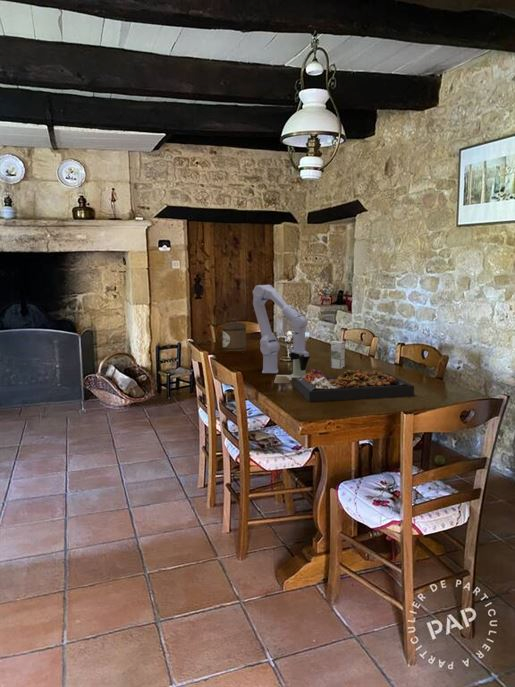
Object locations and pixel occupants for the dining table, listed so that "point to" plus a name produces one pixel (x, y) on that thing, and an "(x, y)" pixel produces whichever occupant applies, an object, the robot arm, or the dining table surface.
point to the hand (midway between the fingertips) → (299, 368)
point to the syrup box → (337, 354)
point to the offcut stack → (281, 379)
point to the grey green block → (297, 368)
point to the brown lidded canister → (234, 336)
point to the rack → (285, 375)
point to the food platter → (351, 386)
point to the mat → (296, 376)
